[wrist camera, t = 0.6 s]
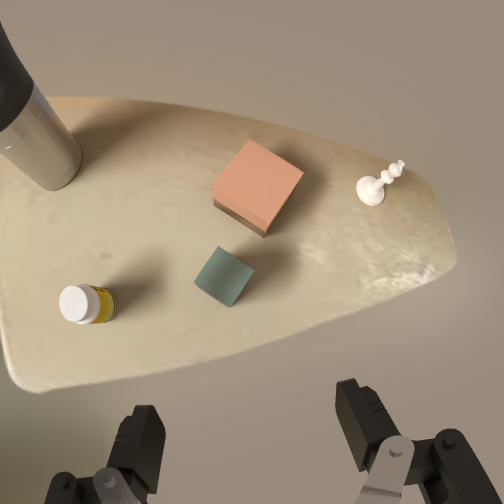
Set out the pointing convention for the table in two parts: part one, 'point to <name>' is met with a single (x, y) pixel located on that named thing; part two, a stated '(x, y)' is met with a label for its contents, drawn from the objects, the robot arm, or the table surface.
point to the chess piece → (377, 184)
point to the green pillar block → (223, 277)
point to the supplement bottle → (87, 304)
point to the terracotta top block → (256, 184)
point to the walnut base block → (243, 220)
